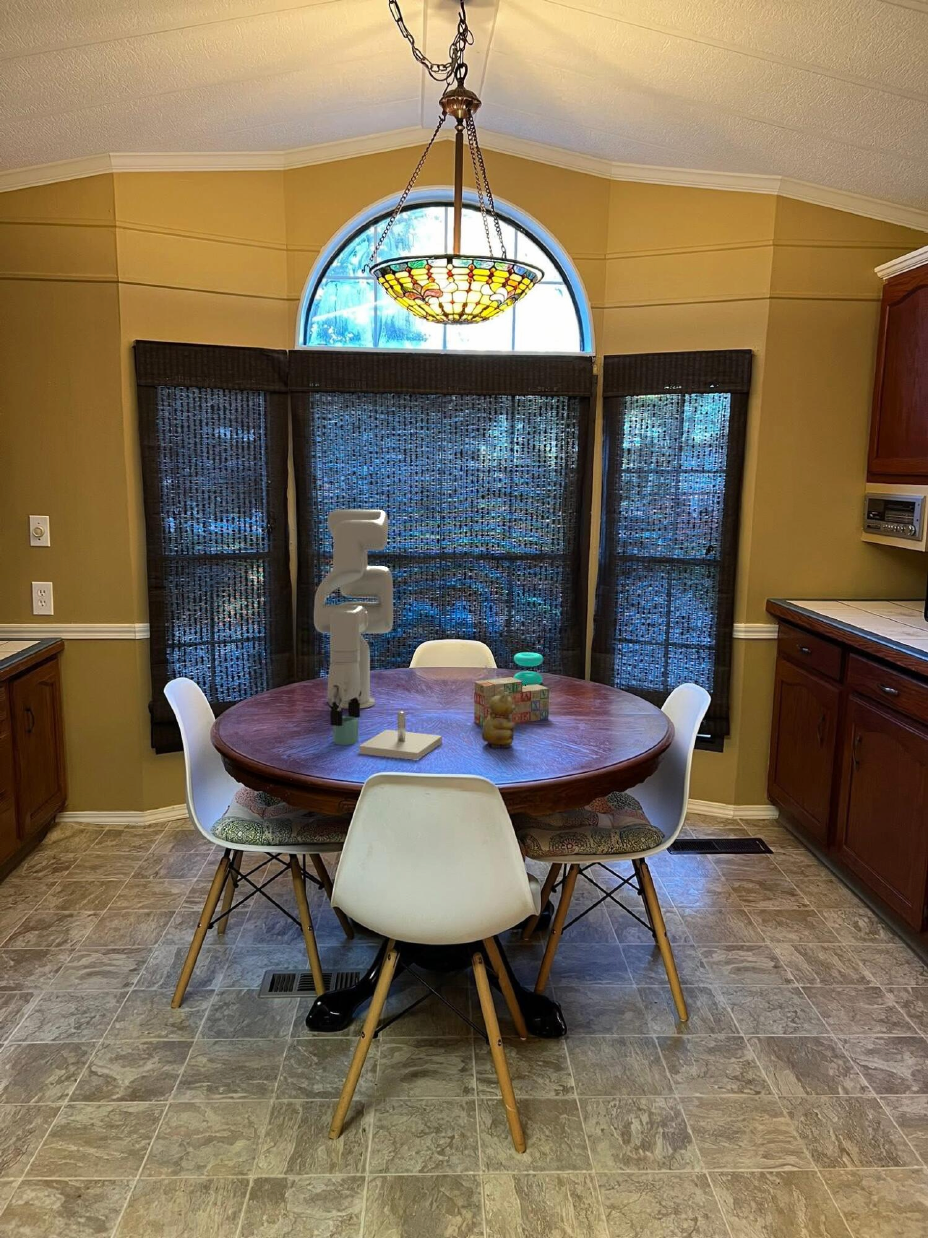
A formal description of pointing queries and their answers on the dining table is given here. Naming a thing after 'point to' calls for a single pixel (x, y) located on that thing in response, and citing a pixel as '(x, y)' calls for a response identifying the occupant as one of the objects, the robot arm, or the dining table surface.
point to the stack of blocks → (526, 700)
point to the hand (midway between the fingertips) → (345, 721)
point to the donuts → (528, 660)
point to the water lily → (491, 674)
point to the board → (400, 742)
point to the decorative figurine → (499, 721)
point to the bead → (346, 731)
